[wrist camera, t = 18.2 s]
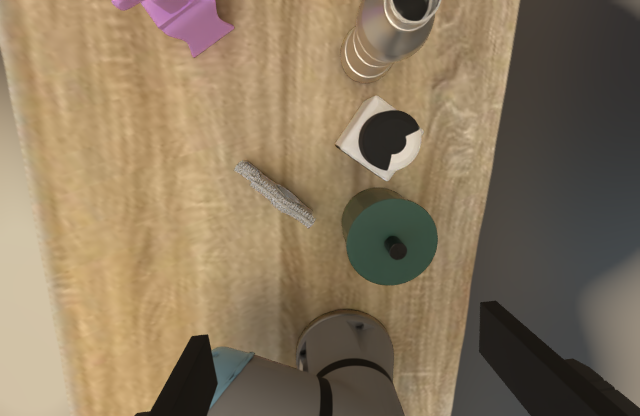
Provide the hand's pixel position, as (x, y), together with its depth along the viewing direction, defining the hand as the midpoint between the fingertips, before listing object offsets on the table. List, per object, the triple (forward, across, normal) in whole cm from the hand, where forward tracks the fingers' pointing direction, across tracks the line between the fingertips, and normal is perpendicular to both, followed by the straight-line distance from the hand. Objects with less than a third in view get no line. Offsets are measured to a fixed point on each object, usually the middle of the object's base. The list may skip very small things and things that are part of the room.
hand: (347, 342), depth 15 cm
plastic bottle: (+30, -8, -18) cm, 36 cm away
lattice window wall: (+31, +5, -3) cm, 31 cm away
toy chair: (+30, +13, -26) cm, 42 cm away
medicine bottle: (+31, -8, -8) cm, 33 cm away
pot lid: (+22, -8, +4) cm, 24 cm away
